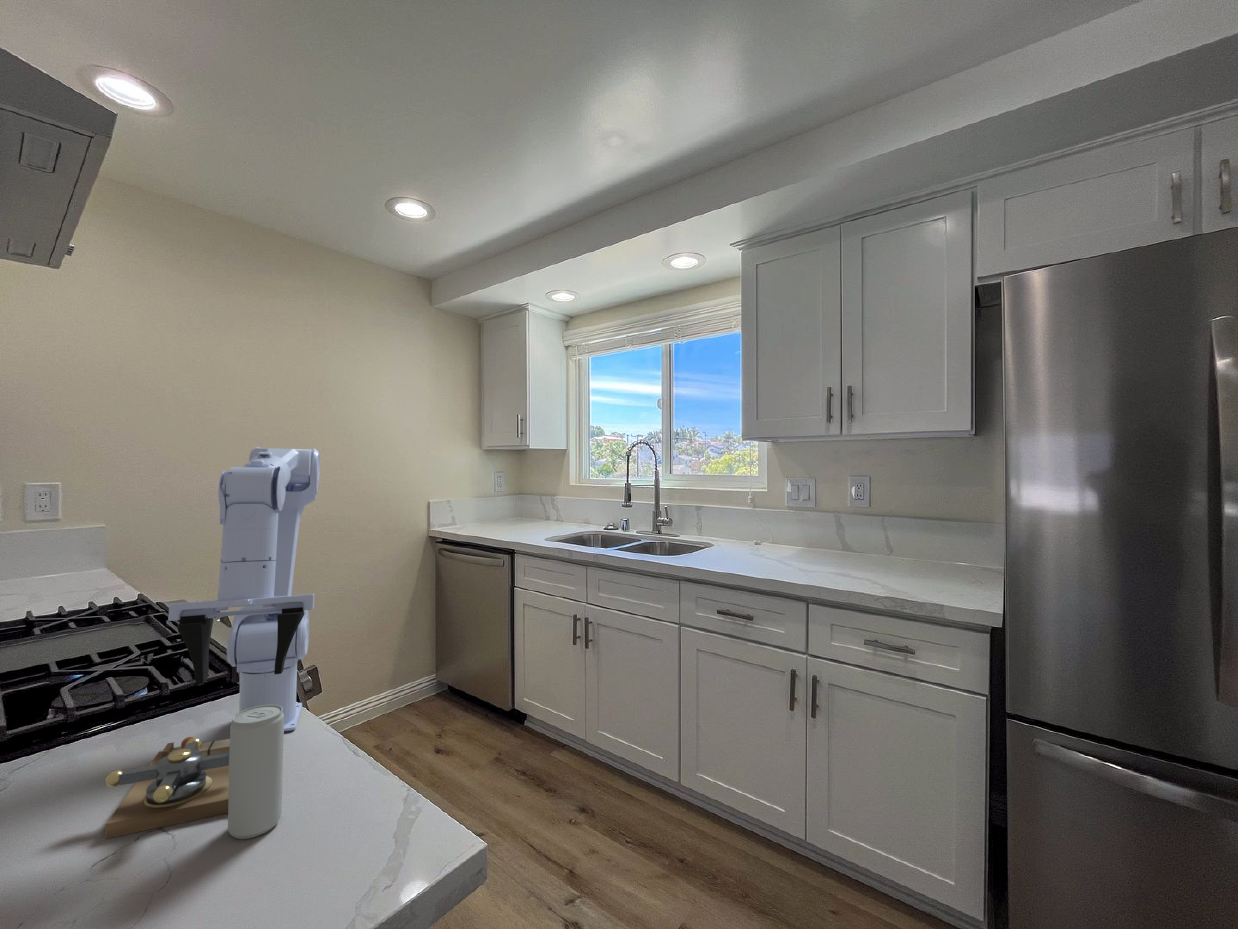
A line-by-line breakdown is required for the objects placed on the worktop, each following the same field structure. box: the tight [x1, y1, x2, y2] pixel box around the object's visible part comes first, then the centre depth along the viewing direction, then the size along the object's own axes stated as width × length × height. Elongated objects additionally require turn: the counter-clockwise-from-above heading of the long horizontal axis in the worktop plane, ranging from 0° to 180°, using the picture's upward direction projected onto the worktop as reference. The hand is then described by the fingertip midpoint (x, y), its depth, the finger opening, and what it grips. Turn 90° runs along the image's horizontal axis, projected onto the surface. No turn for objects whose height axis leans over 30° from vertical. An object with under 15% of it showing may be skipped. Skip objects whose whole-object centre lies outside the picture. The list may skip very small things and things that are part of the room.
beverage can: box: [227, 705, 285, 840], centre depth 58 cm, size 5×5×12 cm
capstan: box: [104, 737, 229, 805], centre depth 61 cm, size 13×13×4 cm
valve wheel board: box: [104, 736, 230, 839], centre depth 65 cm, size 16×12×4 cm
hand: (241, 677), depth 64 cm, fingers open, 7 cm apart
